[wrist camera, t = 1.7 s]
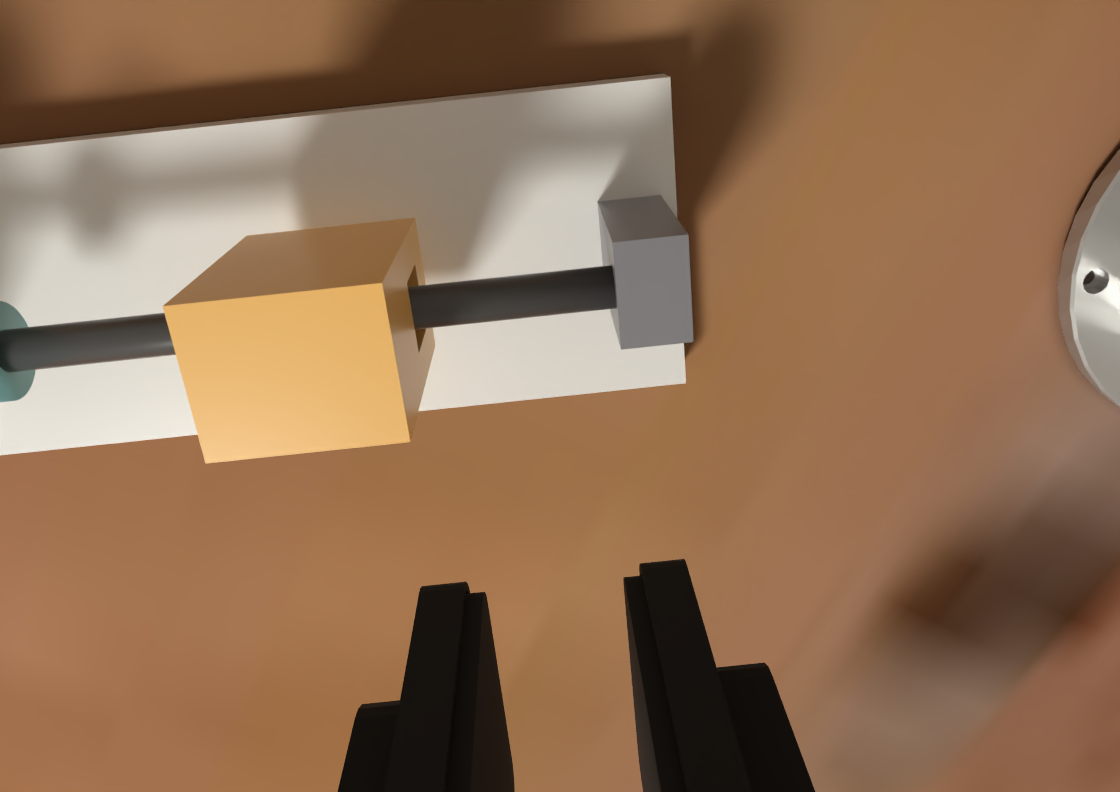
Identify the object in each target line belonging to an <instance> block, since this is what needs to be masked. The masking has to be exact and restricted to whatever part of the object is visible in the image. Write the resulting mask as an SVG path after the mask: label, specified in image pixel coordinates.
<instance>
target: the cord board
mask: <svg viewBox="0 0 1120 792" xmlns="http://www.w3.org/2000/svg"><path fill="white" fill-rule="evenodd" d="M407 218H415V220H416V226H417V233H418V239H419V245H420V251H421V258H422V264H423V270H424V276H425V283H426V285H420V286H411V287H408V292H409V298H410V304H411V310H412V316H413V322H414V328H415V330H417V329H426V328H433V333H434V339H435V349H434V353H433V357H432V360H431V364H430V368H429V372H428V376H427V380H426V384H425V387H424V391H423V395H422V399H421V403H420V407H419V411H425V410H435V409H444V408H454V407H463V406H473V405H482V404H492V403H501V402H511V401H520V400H530V399H539V398H549V397H558V396H568V395H577V394H587V393H596V392H606V391H615V390H625V389H634V388H644V387H653V386H663V385H672V384H682V383H686V376H685V356H684V343H689V342H694V341H693V320H692V298H691V277H690V255H689V234H688V233H687V232H686V230H685V229H684V227H683V226H682V225H681V223H680V222H679V220H678V219H677V199H676V179H675V160H674V140H673V120H672V101H671V81H670V77H669V76H667V75H665V74H655V75H645V76H636V77H627V78H617V79H608V80H599V81H589V82H580V83H570V84H561V85H552V86H542V87H533V88H524V89H514V90H505V91H496V92H486V93H477V94H468V95H458V96H449V97H440V98H430V99H421V100H412V101H402V102H393V103H384V104H374V105H365V106H356V107H346V108H337V109H328V110H318V111H309V112H300V113H290V114H281V115H272V116H262V117H253V118H244V119H234V120H225V121H216V122H206V123H197V124H188V125H178V126H169V127H160V128H150V129H141V130H132V131H122V132H113V133H104V134H94V135H85V136H76V137H66V138H57V139H48V140H38V141H29V142H20V143H10V144H1V145H0V455H7V454H17V453H26V452H36V451H45V450H55V449H64V448H74V447H83V446H93V445H102V444H112V443H121V442H131V441H140V440H150V439H159V438H169V437H178V436H188V435H197V434H198V433H197V430H196V426H195V423H194V419H193V415H192V412H191V408H190V404H189V401H188V397H187V393H186V390H185V386H184V383H183V379H182V375H181V372H180V368H179V364H178V361H177V357H176V353H175V350H174V346H173V342H172V339H171V335H170V332H169V328H168V324H167V321H166V317H165V313H164V310H163V305H165V304H166V303H167V302H168V301H169V300H171V299H172V298H173V297H174V296H175V295H176V294H178V293H179V292H180V291H181V290H182V289H184V288H185V287H186V286H187V285H188V284H190V283H191V282H192V281H193V280H194V279H195V278H197V277H198V276H199V275H200V274H201V273H203V272H204V271H205V270H206V269H207V268H209V267H210V266H211V265H212V264H213V263H215V262H216V261H217V260H218V259H219V258H220V257H222V256H223V255H224V254H225V253H226V252H228V251H229V250H230V249H231V248H232V247H234V246H235V245H236V244H237V243H238V242H240V241H241V240H242V239H243V238H244V237H245V236H247V235H257V234H266V233H276V232H285V231H294V230H304V229H313V228H323V227H332V226H341V225H351V224H360V223H370V222H379V221H388V220H398V219H407Z"/></svg>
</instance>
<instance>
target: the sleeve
mask: <svg viewBox="0 0 1120 792" xmlns="http://www.w3.org/2000/svg"><path fill="white" fill-rule="evenodd" d="M420 285H426V283H425V276H424V270H423V264H422V258H421V251H420V245H419V239H418V233H417V226H416V220H415V218H407V219H398V220H388V221H379V222H370V223H360V224H351V225H341V226H332V227H323V228H313V229H304V230H294V231H285V232H276V233H266V234H257V235H247V236H245V237H244V238H243V239H242V240H241V241H240V242H238V243H237V244H236V245H235V246H234V247H232V248H231V249H230V250H229V251H228V252H226V253H225V254H224V255H223V256H222V257H220V258H219V259H218V260H217V261H216V262H215V263H213V264H212V265H211V266H210V267H209V268H207V269H206V270H205V271H204V272H203V273H201V274H200V275H199V276H198V277H197V278H195V279H194V280H193V281H192V282H191V283H190V284H188V285H187V286H186V287H185V288H184V289H182V290H181V291H180V292H179V293H178V294H176V295H175V296H174V297H173V298H172V299H171V300H169V301H168V302H167V303H166V304H165V305H163V310H164V313H165V317H166V321H167V324H168V328H169V332H170V335H171V339H172V342H173V346H174V350H175V353H176V357H177V361H178V364H179V368H180V372H181V375H182V379H183V383H184V386H185V390H186V393H187V397H188V401H189V404H190V408H191V412H192V415H193V419H194V423H195V426H196V430H197V433H198V437H199V441H200V444H201V448H202V452H203V455H204V459H205V463H214V462H224V461H233V460H243V459H252V458H262V457H271V456H281V455H291V454H300V453H310V452H319V451H329V450H338V449H348V448H357V447H367V446H376V445H386V444H395V443H405V442H411V438H412V434H413V430H414V426H415V422H416V418H417V415H418V411H419V407H420V403H421V399H422V395H423V391H424V387H425V384H426V380H427V376H428V372H429V368H430V364H431V360H432V357H433V353H434V349H435V339H434V333H433V328H426V329H417V330H415V328H414V322H413V316H412V310H411V304H410V298H409V292H408V287H411V286H420Z"/></svg>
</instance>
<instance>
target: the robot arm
mask: <svg viewBox="0 0 1120 792" xmlns="http://www.w3.org/2000/svg"><path fill="white" fill-rule="evenodd" d="M1086 275H1087V276H1086ZM1085 276H1086V277H1085ZM1058 308H1059V319H1060V323H1061V327H1062V331H1063V335H1064V338H1065V342H1066V346H1067V348H1068V350H1069V352H1070V354H1071V355H1072V357H1073V359H1074V361H1075V363H1076V365H1077V367H1078V369H1079V370H1080V372H1081V373H1082V374H1083V375H1084V376H1085V377H1086V379H1087V380H1088V381H1089V382H1090V383H1091V384H1092V385H1093V386H1094V388H1095V389H1096V390H1097V391H1098V392H1099V393H1101V394H1102V395H1104V396H1105V397H1106V398H1108V399H1109V400H1110V401H1112V402H1113V403H1114V404H1116V405H1117V406H1119V407H1120V149H1119V150H1118V151H1117V153H1116V154H1115V155H1114V157H1113V158H1112V159H1111V161H1110V162H1109V163H1108V164H1107V166H1106V167H1105V168H1104V170H1103V171H1102V172H1101V174H1100V175H1099V176H1098V177H1097V179H1096V180H1095V181H1094V183H1093V185H1092V186H1091V188H1090V190H1089V192H1088V194H1087V196H1086V197H1085V199H1084V201H1083V203H1082V205H1081V207H1080V208H1079V210H1078V212H1077V214H1076V216H1075V218H1074V221H1073V224H1072V227H1071V230H1070V232H1069V235H1068V238H1067V241H1066V244H1065V247H1064V250H1063V254H1062V260H1061V267H1060V273H1059V279H1058ZM639 570H640V576H634V577H624V593H625V605H626V616H627V628H628V640H629V651H630V663H631V674H632V686H633V698H634V709H635V721H636V732H637V744H638V755H639V764H640V772H641V779H642V786H643V792H815V790H814V787H813V785H812V782H811V779H810V776H809V774H808V771H807V768H806V766H805V763H804V760H803V757H802V755H801V752H800V749H799V747H798V744H797V741H796V739H795V736H794V733H793V730H792V728H791V725H790V722H789V720H788V717H787V714H786V711H785V709H784V706H783V703H782V701H781V698H780V695H779V692H778V690H777V687H776V684H775V682H774V679H773V676H772V674H771V672H770V669H769V667H768V666H767V665H766V664H765V663H757V664H747V665H738V666H728V667H718V668H716V665H715V661H714V658H713V654H712V651H711V647H710V644H709V640H708V637H707V633H706V630H705V626H704V623H703V620H702V616H701V613H700V609H699V606H698V602H697V599H696V595H695V592H694V588H693V585H692V582H691V578H690V575H689V571H688V568H687V564H686V562H685V560H684V559H680V560H670V561H661V562H651V563H642V564H640V566H639ZM338 792H514V774H513V764H512V757H511V751H510V744H509V738H508V731H507V725H506V718H505V712H504V705H503V699H502V692H501V686H500V679H499V673H498V666H497V660H496V653H495V647H494V640H493V634H492V627H491V621H490V615H489V608H488V602H487V597H486V593H485V592H480V593H470V590H469V586H468V584H467V582H459V583H450V584H440V585H430V586H422V587H421V588H420V592H419V597H418V603H417V608H416V614H415V620H414V625H413V631H412V637H411V642H410V648H409V654H408V659H407V665H406V670H405V676H404V682H403V687H402V693H401V699H400V700H399V701H390V702H380V703H370V704H362V705H361V706H360V707H359V709H358V711H357V714H356V717H355V721H354V725H353V729H352V733H351V738H350V742H349V746H348V750H347V755H346V759H345V763H344V767H343V771H342V776H341V780H340V784H339V788H338Z"/></svg>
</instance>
